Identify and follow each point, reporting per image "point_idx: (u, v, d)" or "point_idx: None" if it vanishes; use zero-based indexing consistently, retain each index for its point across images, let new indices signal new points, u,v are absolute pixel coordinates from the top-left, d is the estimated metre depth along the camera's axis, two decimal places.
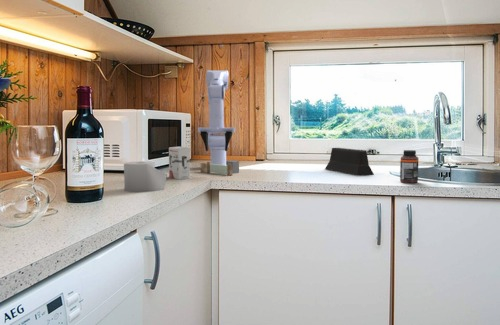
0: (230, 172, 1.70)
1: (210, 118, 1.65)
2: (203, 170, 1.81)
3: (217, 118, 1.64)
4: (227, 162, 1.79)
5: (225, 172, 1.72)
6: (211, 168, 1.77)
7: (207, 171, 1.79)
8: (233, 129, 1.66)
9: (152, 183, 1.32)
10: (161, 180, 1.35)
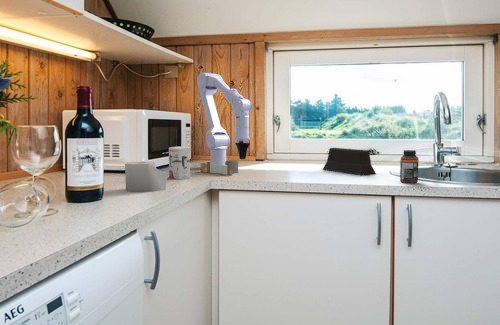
0: (230, 172, 1.70)
1: None
2: (203, 170, 1.81)
3: (236, 129, 1.81)
4: (226, 162, 1.78)
5: (225, 172, 1.72)
6: (211, 168, 1.77)
7: (207, 171, 1.79)
8: (243, 140, 1.76)
9: (153, 183, 1.32)
10: (162, 180, 1.35)
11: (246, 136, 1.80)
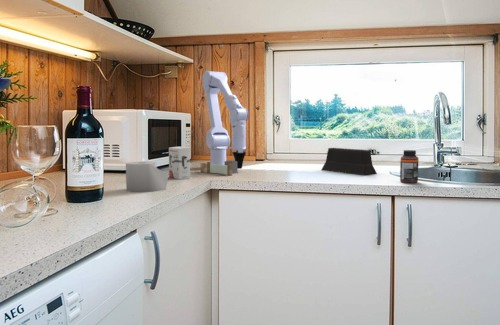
0: (230, 172, 1.70)
1: None
2: (203, 170, 1.81)
3: (232, 138, 1.80)
4: (225, 162, 1.78)
5: (225, 172, 1.72)
6: (211, 168, 1.77)
7: (207, 171, 1.79)
8: (238, 149, 1.75)
9: (154, 183, 1.32)
10: (163, 180, 1.35)
11: (242, 146, 1.79)
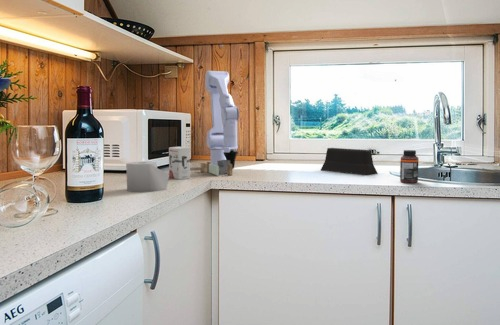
0: (230, 172, 1.70)
1: None
2: (203, 170, 1.81)
3: (223, 138, 1.77)
4: (218, 162, 1.76)
5: (216, 173, 1.69)
6: (209, 168, 1.77)
7: (207, 171, 1.79)
8: (224, 149, 1.71)
9: (154, 183, 1.32)
10: (164, 180, 1.35)
11: (231, 145, 1.74)
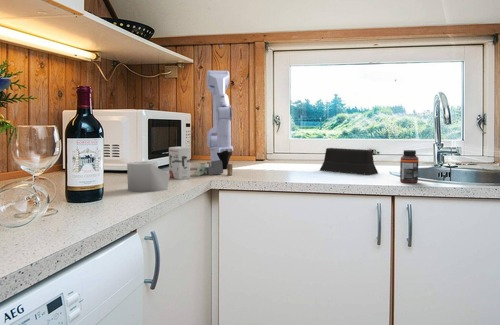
0: (230, 172, 1.70)
1: None
2: None
3: (217, 138, 1.74)
4: (211, 162, 1.75)
5: None
6: None
7: None
8: None
9: (155, 183, 1.32)
10: (164, 180, 1.35)
11: (224, 145, 1.72)
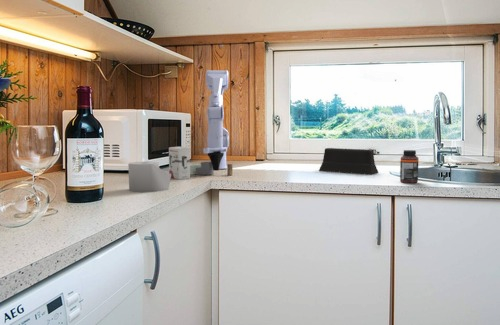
0: (230, 172, 1.70)
1: None
2: None
3: None
4: None
5: None
6: None
7: None
8: None
9: (157, 183, 1.32)
10: (166, 181, 1.35)
11: (214, 146, 1.69)
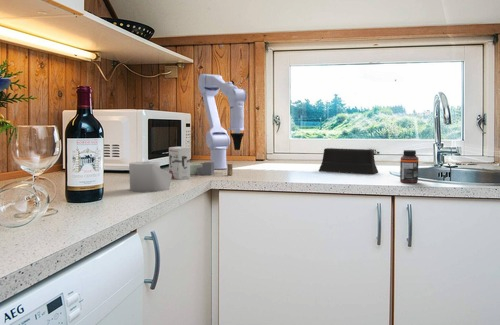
0: (230, 172, 1.70)
1: None
2: None
3: (230, 119, 1.78)
4: None
5: None
6: None
7: None
8: (235, 130, 1.73)
9: (157, 183, 1.32)
10: (167, 181, 1.35)
11: (240, 127, 1.77)
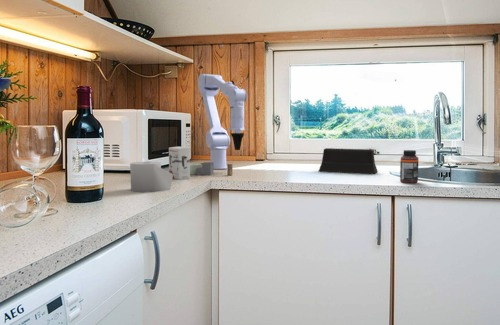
0: (230, 172, 1.70)
1: None
2: None
3: None
4: None
5: None
6: None
7: None
8: (235, 130, 1.73)
9: (158, 183, 1.32)
10: (167, 181, 1.35)
11: (240, 126, 1.77)
